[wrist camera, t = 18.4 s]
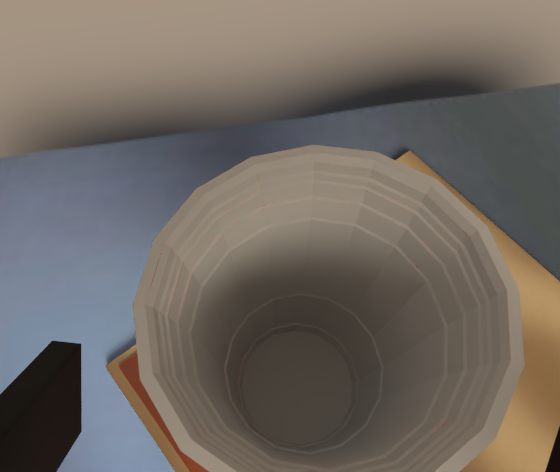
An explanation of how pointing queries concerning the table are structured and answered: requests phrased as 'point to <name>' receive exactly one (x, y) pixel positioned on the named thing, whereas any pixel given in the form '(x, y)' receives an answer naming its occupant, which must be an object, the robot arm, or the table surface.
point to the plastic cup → (328, 319)
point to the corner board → (527, 395)
